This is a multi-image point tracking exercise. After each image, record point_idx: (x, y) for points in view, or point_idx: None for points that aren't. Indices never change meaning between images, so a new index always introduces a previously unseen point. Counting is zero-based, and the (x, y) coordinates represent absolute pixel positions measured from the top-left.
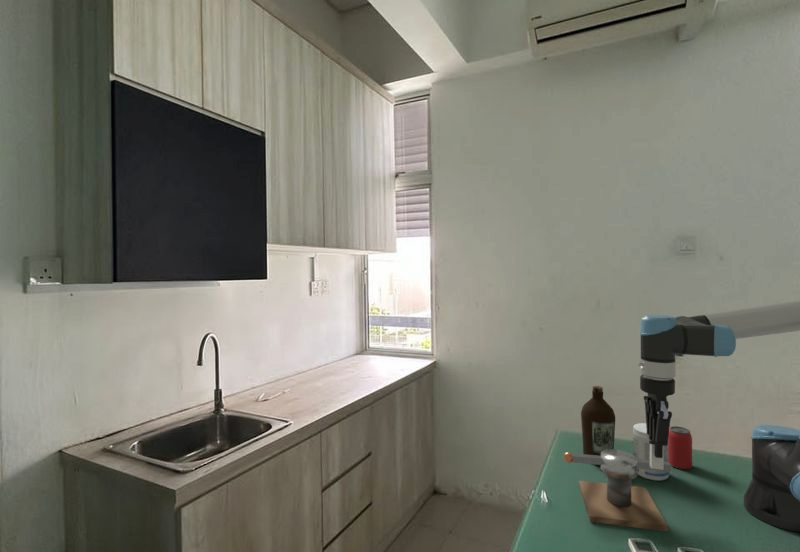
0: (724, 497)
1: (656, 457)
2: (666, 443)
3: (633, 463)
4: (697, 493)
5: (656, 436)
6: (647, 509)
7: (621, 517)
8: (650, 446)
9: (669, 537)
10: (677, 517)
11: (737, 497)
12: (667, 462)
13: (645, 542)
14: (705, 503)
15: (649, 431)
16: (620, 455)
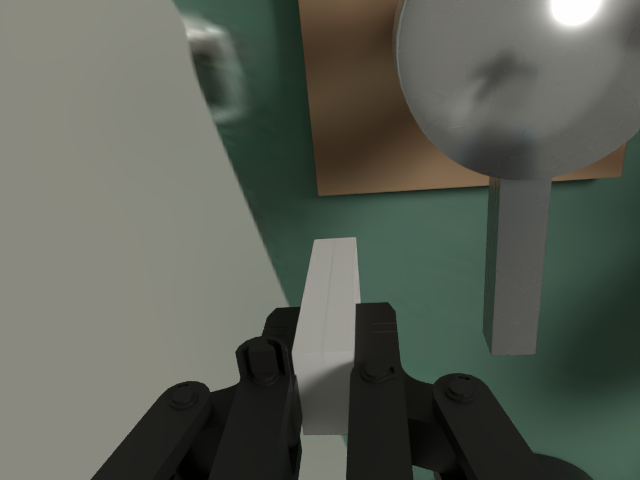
0: (600, 425)
1: (275, 311)
2: (173, 473)
3: (433, 140)
4: (622, 357)
5: (129, 459)
6: (420, 146)
7: (320, 17)
8: (332, 323)
9: (284, 184)
10: (428, 245)
11: (605, 457)
12: (524, 346)
13: (219, 92)
14: (549, 359)
15: (393, 421)
16: (567, 63)
